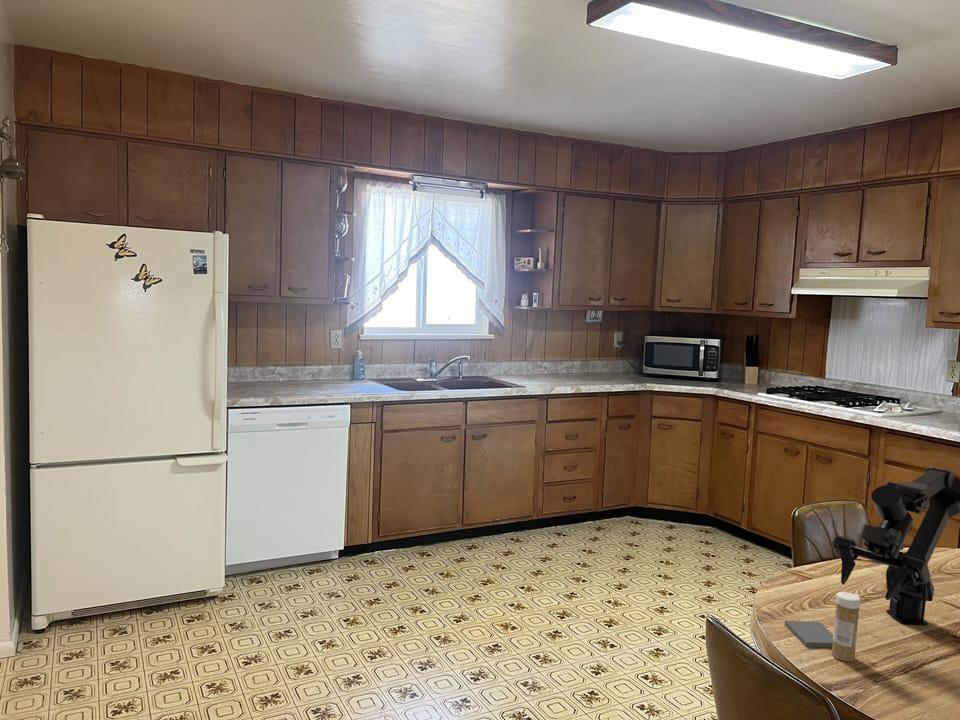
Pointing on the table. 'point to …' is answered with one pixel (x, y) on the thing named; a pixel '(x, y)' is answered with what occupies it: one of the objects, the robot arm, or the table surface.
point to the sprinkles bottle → (845, 626)
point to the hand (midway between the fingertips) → (863, 591)
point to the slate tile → (811, 633)
